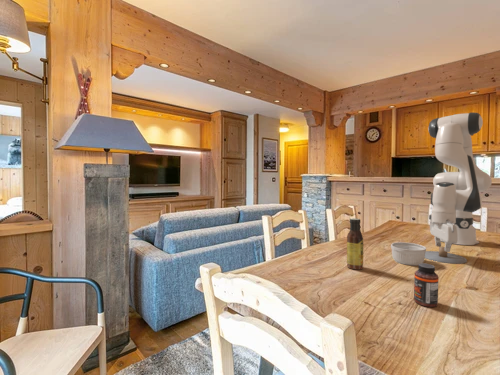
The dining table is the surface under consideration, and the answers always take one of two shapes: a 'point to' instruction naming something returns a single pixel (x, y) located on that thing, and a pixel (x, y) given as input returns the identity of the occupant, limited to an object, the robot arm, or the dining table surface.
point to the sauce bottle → (355, 246)
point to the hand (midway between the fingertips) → (442, 248)
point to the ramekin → (408, 253)
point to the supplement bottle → (426, 286)
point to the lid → (444, 257)
